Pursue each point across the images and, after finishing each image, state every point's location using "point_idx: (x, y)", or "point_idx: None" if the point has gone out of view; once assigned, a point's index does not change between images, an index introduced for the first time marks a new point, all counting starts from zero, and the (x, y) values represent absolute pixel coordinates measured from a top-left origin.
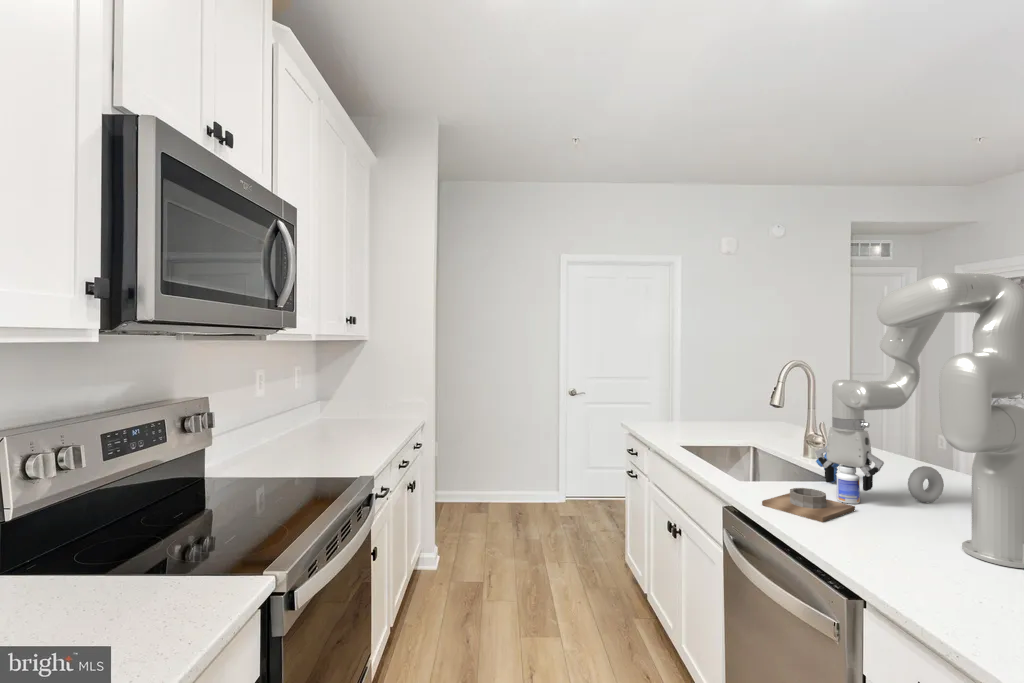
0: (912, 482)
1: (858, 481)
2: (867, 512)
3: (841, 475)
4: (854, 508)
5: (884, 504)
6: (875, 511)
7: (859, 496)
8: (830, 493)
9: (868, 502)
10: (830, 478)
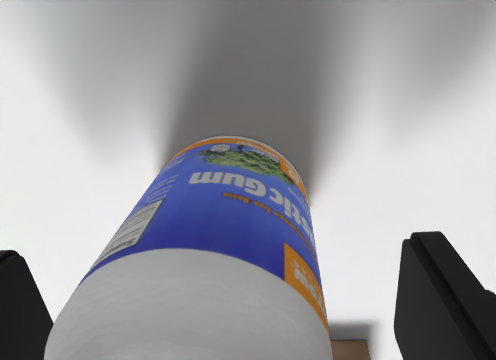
0: None
1: (331, 348)
2: None
3: None
4: (368, 356)
5: (447, 13)
6: None
7: (307, 207)
8: (19, 110)
9: (328, 86)
10: (22, 340)
